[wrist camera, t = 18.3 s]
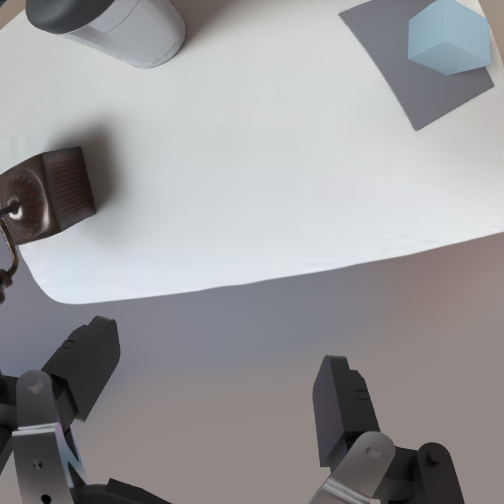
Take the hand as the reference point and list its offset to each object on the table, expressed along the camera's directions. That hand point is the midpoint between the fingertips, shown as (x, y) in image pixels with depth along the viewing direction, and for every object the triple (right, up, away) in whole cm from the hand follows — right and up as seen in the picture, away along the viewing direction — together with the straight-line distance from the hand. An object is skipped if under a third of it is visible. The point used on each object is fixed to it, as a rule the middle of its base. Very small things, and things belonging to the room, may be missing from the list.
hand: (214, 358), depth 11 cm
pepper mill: (-26, +11, +28) cm, 40 cm away
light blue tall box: (+25, +31, +16) cm, 43 cm away
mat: (+25, +31, +17) cm, 43 cm away
